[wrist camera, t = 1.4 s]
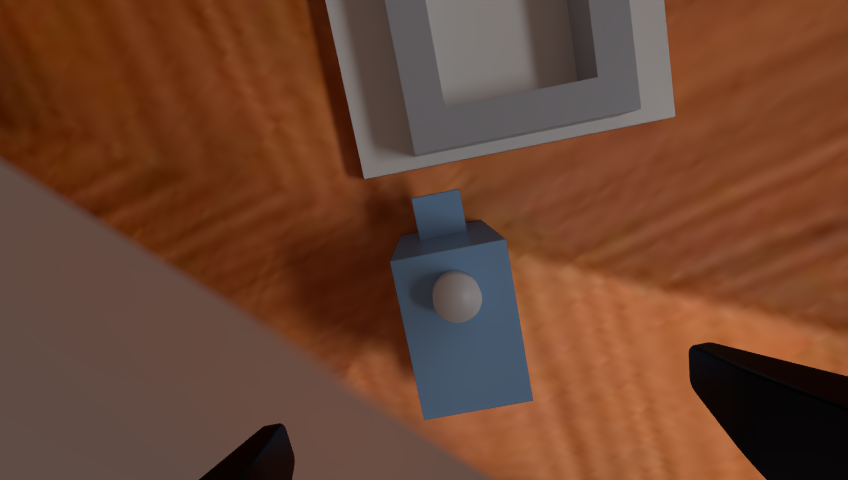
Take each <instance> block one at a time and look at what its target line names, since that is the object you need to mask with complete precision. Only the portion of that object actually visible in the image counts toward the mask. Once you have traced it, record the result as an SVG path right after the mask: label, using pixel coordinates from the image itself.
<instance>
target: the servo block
mask: <svg viewBox="0 0 848 480" xmlns="http://www.w3.org/2000/svg"><path fill="white" fill-rule="evenodd" d="M412 203H413V208H414V213H415V218H416V223H417V228H418V233H414V234H409V235H403V236H401V237H400V239H399V241H398V244H397V246H396V249H395V251H394V253H393V256H392V258H391V260H390V264H391V269H392V274H393V278H394V283H395V287H396V292H397V297H398V301H399V306H400V311H401V315H402V320H403V325H404V329H405V334H406V339H407V343H408V348H409V352H410V357H411V362H412V366H413V371H414V376H415V380H416V385H417V390H418V394H419V399H420V404H421V408H422V413H423V417H424V420H427V419H433V418H439V417H444V416H450V415H455V414H461V413H467V412H472V411H478V410H484V409H489V408H495V407H500V406H506V405H512V404H517V403H523V402H528V401H533V398H532V392H531V386H530V380H529V374H528V368H527V362H526V356H525V350H524V344H523V338H522V332H521V326H520V320H519V314H518V308H517V302H516V296H515V290H514V284H513V279H512V273H511V267H510V261H509V255H508V249H507V243H506V239H505V238H504V237H502V236H501V235H500V234H499V233H497V232H496V231H495V230H494V229H492V228H491V227H490V226H488V225H487V224H486V223H485V222H483V221H482V220H480V221H475V222H470V223H465V218H464V212H463V207H462V201H461V196H460V190H459V189H455V190H450V191H445V192H440V193H435V194H430V195H425V196H420V197H415V198H412Z"/></svg>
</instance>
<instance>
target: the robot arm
mask: <svg viewBox="0 0 848 480" xmlns="http://www.w3.org/2000/svg"><path fill="white" fill-rule="evenodd" d="M689 372H690V382H691V385H692V388H693V389H694V391H695V392H696V394H697V395H698V396H699V398H700V399H701V400H702V402H703V403H704V404H705V405H706V407H707V408H708V409H709V411H710V412H711V413H712V415H713V416H714V417H715V418H716V420H717V421H718V422H719V424H720V425H721V426H722V428H723V429H724V430H725V431H726V433H727V434H728V435H729V437H730V438H731V439H732V440H733V442H734V443H735V444H736V446H737V447H738V448H739V449H740V450H741V452H742V453H743V454H744V455H745V456H746V458H747V459H748V460H749V461H750V462H751V463H752V464H753V465H754V467H755V468H756V469H757V470H758V471H759V472H760V473H761V474H762V475H763V476H764V477H765V479H766V480H848V376H844V375H840V374H836V373H832V372H828V371H824V370H820V369H816V368H812V367H808V366H804V365H800V364H796V363H792V362H788V361H784V360H780V359H776V358H772V357H768V356H764V355H760V354H756V353H752V352H748V351H744V350H740V349H736V348H732V347H728V346H724V345H720V344H716V343H703V344H698V345H693V346H692V347H691V348H690V349H689ZM294 462H295V460H294V453H293V450H292V447H291V443H290V441H289V437H288V434H287V431H286V428H285V426H284V425H283V424H280V423H279V424H273V425H268V426H264V427H262V428H261V429H260V430H259V431H257V432H256V433H255V434H254V435H252V436H251V437H250V438H249V439H248V440H246V441H245V442H244V443H243V444H242V445H240V446H239V447H238V448H237V449H236V450H234V451H233V452H232V453H231V454H229V455H228V456H227V457H226V458H225V459H223V460H222V461H221V462H220V463H219V464H217V465H216V466H215V467H214V468H212V469H211V470H210V471H209V472H208V473H206V474H205V475H204V476H203V477H202V478H200V479H199V480H292V475H293V470H294Z"/></svg>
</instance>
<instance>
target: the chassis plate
mask: <svg viewBox="0 0 848 480" xmlns="http://www.w3.org/2000/svg"><path fill="white" fill-rule="evenodd" d="M325 2H326V6H327V11H328V15H329V20H330V24H331V29H332V34H333V38H334V43H335V47H336V52H337V57H338V61H339V66H340V70H341V75H342V79H343V84H344V89H345V93H346V98H347V102H348V107H349V112H350V116H351V121H352V125H353V130H354V134H355V139H356V144H357V148H358V153H359V157H360V162H361V167H362V171H363V176H364V179H370V178H375V177H380V176H385V175H390V174H395V173H400V172H405V171H410V170H415V169H420V168H425V167H430V166H435V165H440V164H445V163H450V162H455V161H460V160H465V159H470V158H475V157H480V156H485V155H489V154H494V153H499V152H504V151H509V150H514V149H519V148H524V147H529V146H534V145H539V144H544V143H549V142H554V141H559V140H564V139H569V138H574V137H579V136H584V135H589V134H594V133H599V132H604V131H609V130H614V129H619V128H624V127H629V126H634V125H639V124H644V123H649V122H654V121H659V120H663V119H667V118H672V117H675V109H674V99H673V89H672V78H671V68H670V58H669V47H668V37H667V27H666V17H665V6H664V0H325Z"/></svg>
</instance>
